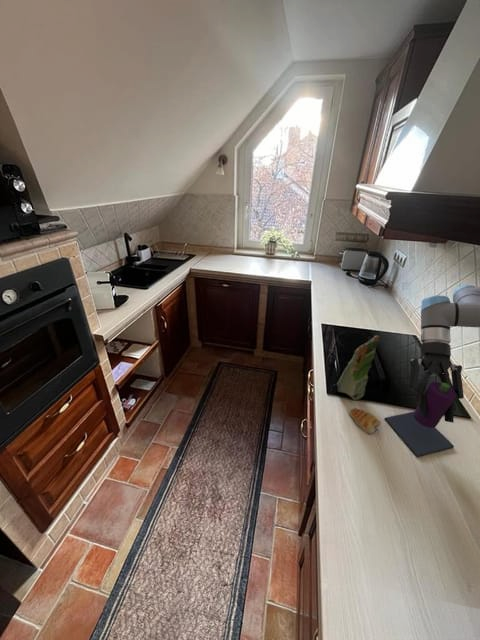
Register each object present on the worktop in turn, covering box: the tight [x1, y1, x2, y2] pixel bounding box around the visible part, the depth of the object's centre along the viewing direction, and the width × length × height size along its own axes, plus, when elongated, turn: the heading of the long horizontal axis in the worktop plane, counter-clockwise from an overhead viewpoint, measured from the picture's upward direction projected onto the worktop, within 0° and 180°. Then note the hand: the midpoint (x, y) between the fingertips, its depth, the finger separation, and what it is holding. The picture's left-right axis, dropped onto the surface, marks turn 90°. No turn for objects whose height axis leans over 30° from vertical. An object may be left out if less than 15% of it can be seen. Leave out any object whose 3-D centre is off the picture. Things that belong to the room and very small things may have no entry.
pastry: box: [350, 407, 381, 435], centre depth 86 cm, size 9×7×4 cm
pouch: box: [336, 334, 381, 401], centre depth 93 cm, size 11×12×25 cm
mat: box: [384, 410, 455, 458], centre depth 84 cm, size 14×14×1 cm
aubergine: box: [413, 381, 456, 428], centre depth 77 cm, size 6×6×15 cm
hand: (435, 419), depth 75 cm, fingers closed on aubergine, 6 cm apart
